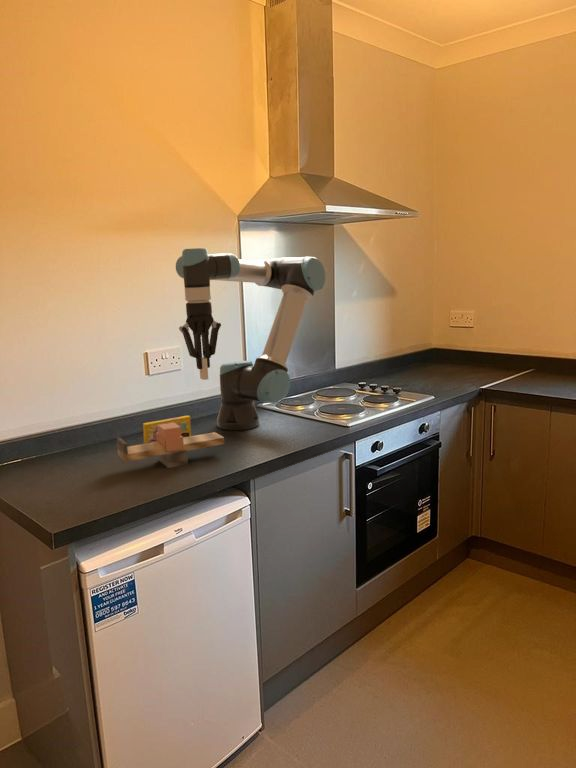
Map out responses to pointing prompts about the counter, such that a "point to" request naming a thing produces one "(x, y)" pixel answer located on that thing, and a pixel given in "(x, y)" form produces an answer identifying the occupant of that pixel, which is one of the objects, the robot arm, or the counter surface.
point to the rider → (170, 436)
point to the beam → (169, 457)
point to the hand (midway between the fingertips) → (204, 378)
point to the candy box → (152, 428)
